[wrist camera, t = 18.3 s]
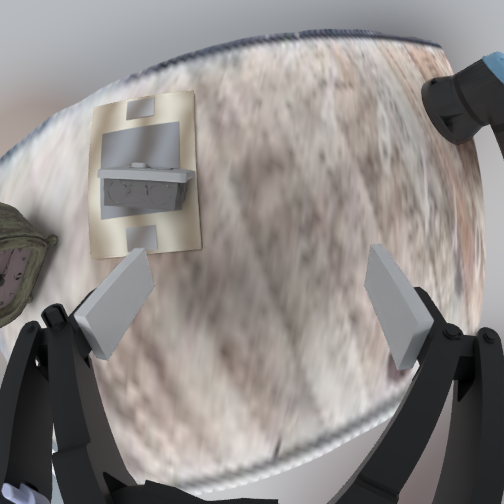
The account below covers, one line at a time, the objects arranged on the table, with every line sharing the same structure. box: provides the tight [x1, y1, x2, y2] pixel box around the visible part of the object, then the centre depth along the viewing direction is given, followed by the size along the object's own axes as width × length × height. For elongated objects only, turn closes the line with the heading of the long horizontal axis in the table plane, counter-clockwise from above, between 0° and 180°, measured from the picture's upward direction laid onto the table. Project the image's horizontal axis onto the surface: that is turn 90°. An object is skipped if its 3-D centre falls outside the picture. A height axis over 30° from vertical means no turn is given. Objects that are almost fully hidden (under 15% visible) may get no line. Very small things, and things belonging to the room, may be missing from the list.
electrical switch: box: [97, 163, 195, 211], centre depth 27 cm, size 9×5×9 cm, turn 84°
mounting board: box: [88, 91, 202, 260], centre depth 32 cm, size 15×22×2 cm
